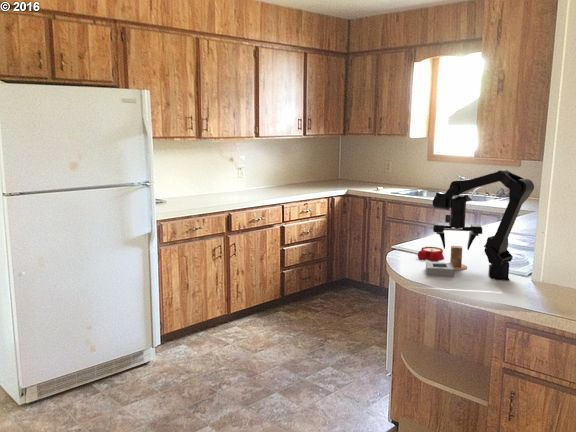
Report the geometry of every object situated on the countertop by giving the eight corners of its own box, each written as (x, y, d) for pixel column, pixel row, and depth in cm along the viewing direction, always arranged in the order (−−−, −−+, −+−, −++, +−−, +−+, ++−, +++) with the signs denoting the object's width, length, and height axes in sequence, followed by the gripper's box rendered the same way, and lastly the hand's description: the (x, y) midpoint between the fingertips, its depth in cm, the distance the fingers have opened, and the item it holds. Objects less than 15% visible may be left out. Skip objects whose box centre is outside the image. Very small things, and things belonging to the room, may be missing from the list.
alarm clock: (447, 248, 236) (439, 247, 223) (445, 262, 236) (438, 262, 223) (424, 245, 241) (415, 244, 228) (422, 259, 241) (413, 259, 228)
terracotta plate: (465, 266, 219) (465, 263, 219) (468, 271, 211) (468, 269, 211) (443, 264, 221) (443, 262, 221) (444, 270, 213) (444, 268, 212)
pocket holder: (451, 271, 212) (451, 262, 211) (453, 278, 202) (454, 269, 201) (425, 270, 214) (425, 261, 213) (426, 276, 204) (427, 268, 204)
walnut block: (460, 265, 217) (461, 246, 216) (461, 267, 214) (462, 248, 212) (450, 264, 218) (451, 245, 217) (451, 267, 214) (452, 247, 213)
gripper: (479, 209, 218) (477, 245, 221) (433, 207, 222) (431, 243, 225) (483, 213, 207) (481, 252, 210) (434, 211, 211) (432, 249, 214)
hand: (456, 249), depth 215 cm, fingers open, 9 cm apart
